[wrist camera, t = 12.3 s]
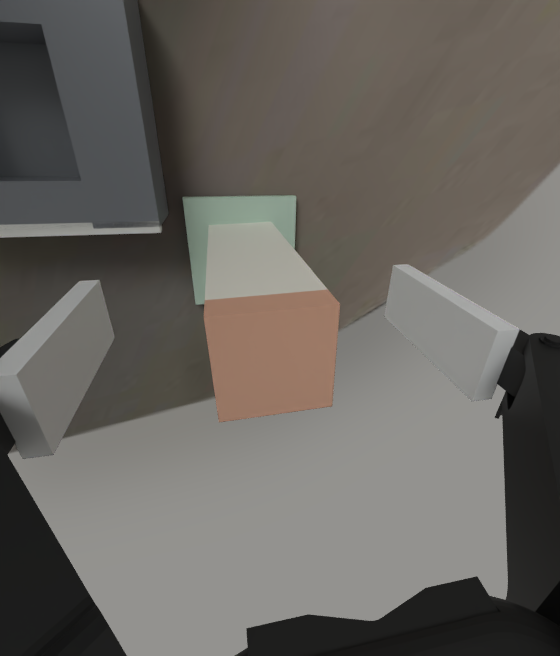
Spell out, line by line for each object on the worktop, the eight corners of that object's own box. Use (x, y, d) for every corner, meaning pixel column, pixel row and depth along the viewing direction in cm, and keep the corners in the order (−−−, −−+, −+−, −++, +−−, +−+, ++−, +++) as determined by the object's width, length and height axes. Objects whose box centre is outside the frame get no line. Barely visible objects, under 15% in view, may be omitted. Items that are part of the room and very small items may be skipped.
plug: (215, 284, 23) (218, 422, 11) (208, 225, 21) (203, 316, 9) (273, 280, 23) (332, 406, 12) (271, 221, 21) (339, 304, 10)
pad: (196, 301, 23) (195, 304, 23) (183, 196, 20) (182, 197, 20) (291, 295, 25) (293, 298, 24) (294, 195, 21) (296, 196, 21)
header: (-49, 224, 19) (-109, 240, 15) (-164, -28, 14) (-290, -88, 10) (169, 219, 21) (160, 232, 17) (136, -4, 16) (115, -48, 12)
